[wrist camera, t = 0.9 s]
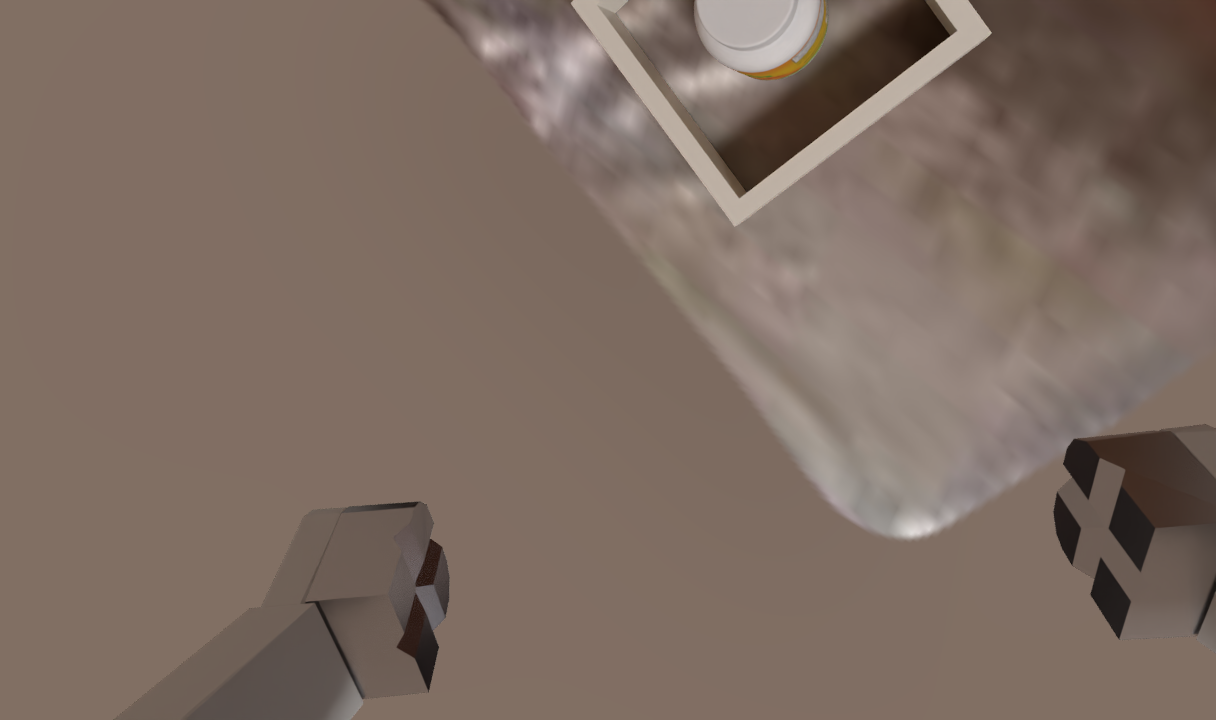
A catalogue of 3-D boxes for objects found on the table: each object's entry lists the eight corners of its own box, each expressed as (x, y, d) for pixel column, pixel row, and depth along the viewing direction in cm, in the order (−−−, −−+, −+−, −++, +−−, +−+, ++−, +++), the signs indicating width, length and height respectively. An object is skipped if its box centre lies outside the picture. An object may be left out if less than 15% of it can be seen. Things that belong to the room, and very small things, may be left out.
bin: (808, -202, 38) (802, -229, 35) (983, 40, 38) (991, 33, 35) (590, 11, 43) (570, 3, 40) (744, 220, 44) (734, 226, 41)
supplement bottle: (702, 51, 42) (654, 29, 33) (754, -53, 40) (717, -106, 31) (793, 99, 41) (768, 90, 32) (850, -4, 39) (841, -45, 30)
